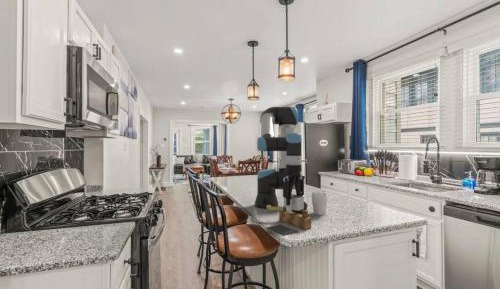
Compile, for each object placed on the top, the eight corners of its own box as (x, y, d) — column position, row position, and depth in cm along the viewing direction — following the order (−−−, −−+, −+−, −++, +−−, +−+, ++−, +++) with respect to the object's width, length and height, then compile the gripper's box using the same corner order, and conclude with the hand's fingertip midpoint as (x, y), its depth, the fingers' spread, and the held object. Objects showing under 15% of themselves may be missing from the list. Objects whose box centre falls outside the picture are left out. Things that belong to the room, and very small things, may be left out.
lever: (267, 208, 139) (267, 204, 139) (282, 209, 137) (282, 205, 137) (266, 209, 137) (266, 205, 137) (282, 210, 135) (282, 206, 135)
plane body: (279, 220, 136) (279, 205, 136) (284, 219, 138) (284, 203, 138) (305, 229, 121) (305, 212, 121) (311, 228, 124) (311, 211, 124)
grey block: (283, 206, 133) (283, 193, 133) (290, 205, 136) (290, 192, 136) (296, 210, 126) (296, 196, 125) (303, 209, 128) (303, 195, 128)
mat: (267, 228, 124) (267, 227, 124) (279, 225, 128) (279, 224, 128) (284, 235, 114) (284, 234, 114) (297, 231, 118) (297, 230, 118)
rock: (284, 212, 151) (284, 195, 151) (303, 212, 152) (303, 195, 152) (290, 219, 138) (290, 200, 138) (310, 219, 138) (310, 200, 138)
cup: (326, 211, 154) (326, 191, 154) (329, 215, 145) (329, 193, 145) (310, 211, 155) (310, 190, 155) (312, 215, 146) (312, 193, 146)
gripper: (285, 165, 122) (285, 215, 122) (311, 163, 132) (311, 209, 133) (274, 164, 128) (274, 212, 128) (300, 162, 138) (300, 206, 139)
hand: (293, 210), depth 131 cm, fingers closed on grey block, 5 cm apart
